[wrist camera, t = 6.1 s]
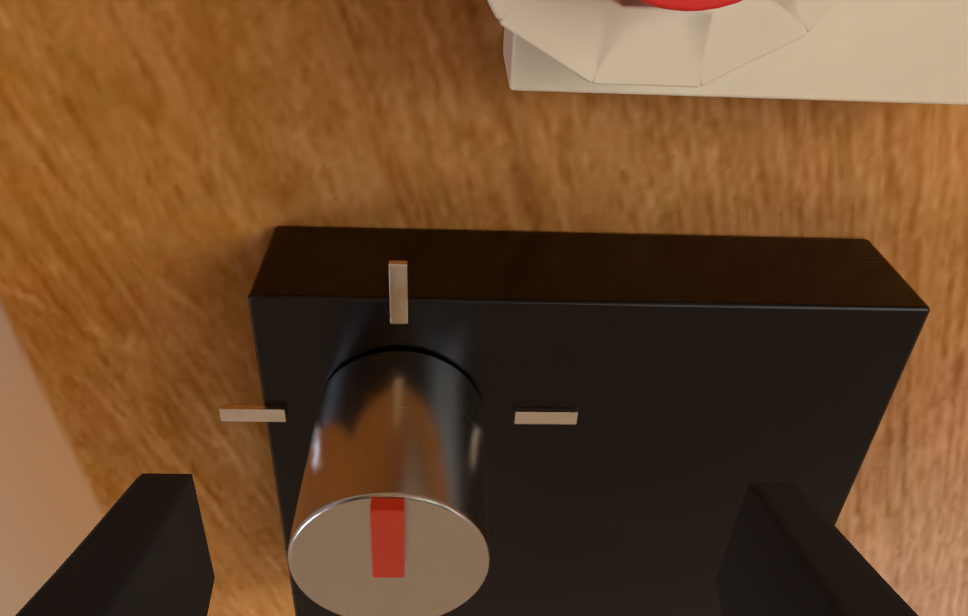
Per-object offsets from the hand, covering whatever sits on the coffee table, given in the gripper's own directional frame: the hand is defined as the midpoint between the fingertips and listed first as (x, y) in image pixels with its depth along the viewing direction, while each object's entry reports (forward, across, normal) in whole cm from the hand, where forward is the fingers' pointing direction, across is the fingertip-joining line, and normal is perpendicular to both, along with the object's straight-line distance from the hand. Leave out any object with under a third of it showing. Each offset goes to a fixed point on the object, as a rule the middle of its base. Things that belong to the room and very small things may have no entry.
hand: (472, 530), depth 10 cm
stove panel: (+9, -3, +6) cm, 11 cm away
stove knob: (+6, +1, +3) cm, 7 cm away
